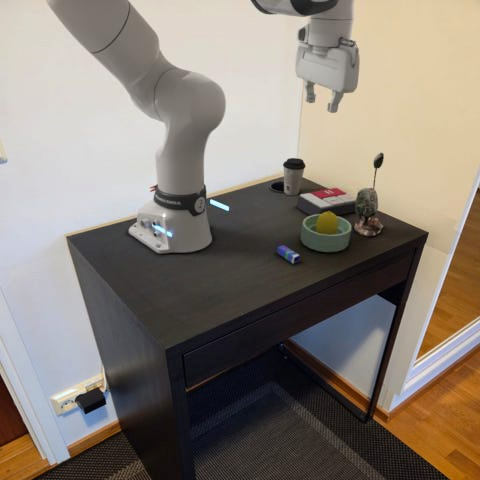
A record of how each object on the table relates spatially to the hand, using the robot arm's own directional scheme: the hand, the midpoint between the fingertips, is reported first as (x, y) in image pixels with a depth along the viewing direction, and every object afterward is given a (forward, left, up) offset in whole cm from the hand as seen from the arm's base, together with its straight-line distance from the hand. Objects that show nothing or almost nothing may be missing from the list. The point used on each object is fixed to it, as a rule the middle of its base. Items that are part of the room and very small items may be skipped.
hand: (320, 107), depth 100 cm
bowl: (+7, -2, -31) cm, 32 cm away
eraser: (+4, -15, -31) cm, 35 cm away
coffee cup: (-17, +21, -31) cm, 41 cm away
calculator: (-2, +17, -31) cm, 36 cm away
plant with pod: (+13, +11, -31) cm, 36 cm away
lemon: (+7, -2, -31) cm, 32 cm away
